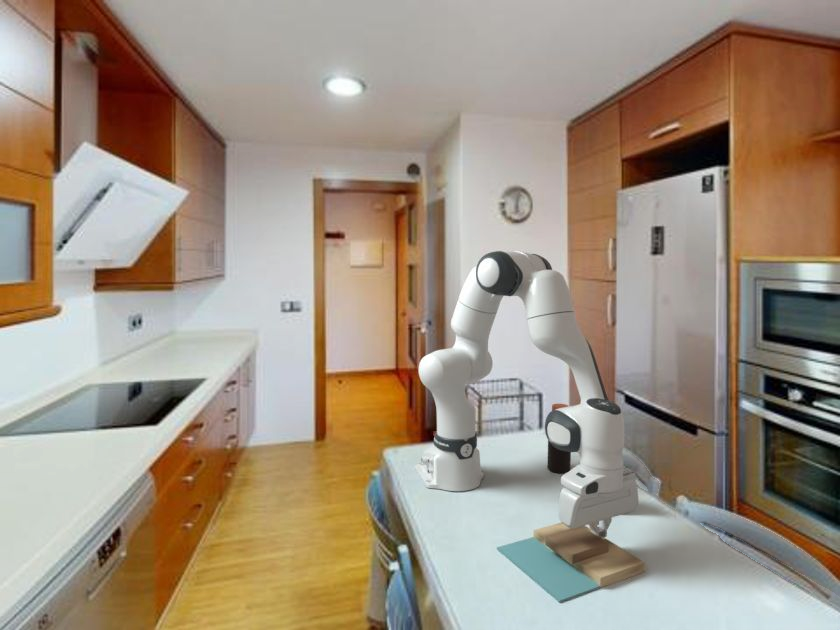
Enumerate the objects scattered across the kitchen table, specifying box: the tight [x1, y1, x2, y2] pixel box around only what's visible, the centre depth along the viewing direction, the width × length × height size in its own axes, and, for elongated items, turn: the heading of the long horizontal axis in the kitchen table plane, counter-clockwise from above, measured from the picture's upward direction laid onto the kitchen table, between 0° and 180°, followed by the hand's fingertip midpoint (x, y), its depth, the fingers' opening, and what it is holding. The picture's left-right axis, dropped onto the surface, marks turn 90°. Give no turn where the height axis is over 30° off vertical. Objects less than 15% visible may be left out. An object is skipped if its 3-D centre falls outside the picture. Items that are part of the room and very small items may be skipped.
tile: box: [545, 526, 609, 564], centre depth 107 cm, size 8×10×2 cm
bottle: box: [547, 403, 572, 474], centre depth 155 cm, size 7×7×20 cm
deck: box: [532, 521, 646, 589], centre depth 109 cm, size 20×12×2 cm, turn 26°
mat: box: [496, 536, 601, 603], centre depth 104 cm, size 20×10×1 cm, turn 26°
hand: (598, 537), depth 110 cm, fingers closed
